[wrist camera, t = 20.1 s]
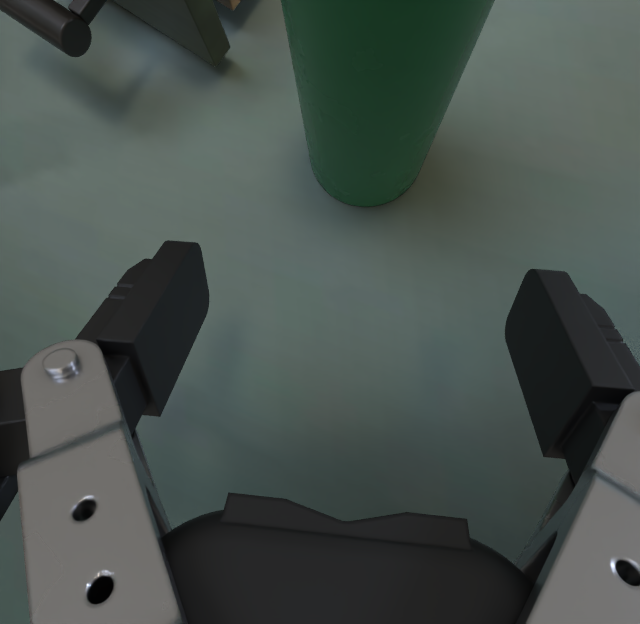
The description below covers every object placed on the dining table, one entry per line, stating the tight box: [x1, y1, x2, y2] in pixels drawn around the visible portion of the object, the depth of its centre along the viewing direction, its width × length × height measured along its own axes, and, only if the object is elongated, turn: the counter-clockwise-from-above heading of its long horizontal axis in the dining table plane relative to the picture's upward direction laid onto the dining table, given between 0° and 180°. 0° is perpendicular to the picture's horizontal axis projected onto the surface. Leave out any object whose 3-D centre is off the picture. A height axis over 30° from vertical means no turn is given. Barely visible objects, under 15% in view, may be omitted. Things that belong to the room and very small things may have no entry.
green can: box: [281, 0, 495, 207], centre depth 13 cm, size 5×5×13 cm
